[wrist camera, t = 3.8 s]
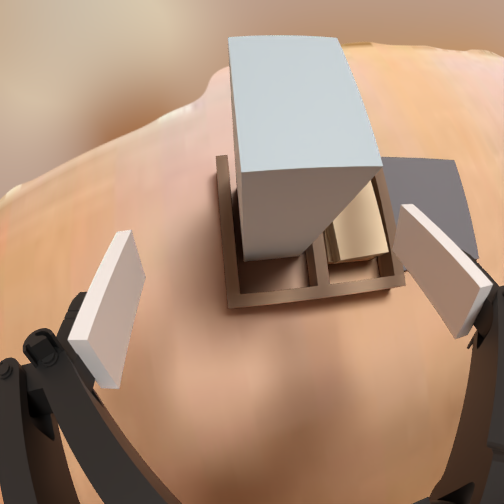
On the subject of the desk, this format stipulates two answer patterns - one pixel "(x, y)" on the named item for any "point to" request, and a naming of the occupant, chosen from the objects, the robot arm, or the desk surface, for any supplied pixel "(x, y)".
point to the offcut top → (358, 229)
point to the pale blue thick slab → (295, 140)
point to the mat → (432, 196)
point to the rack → (307, 255)
